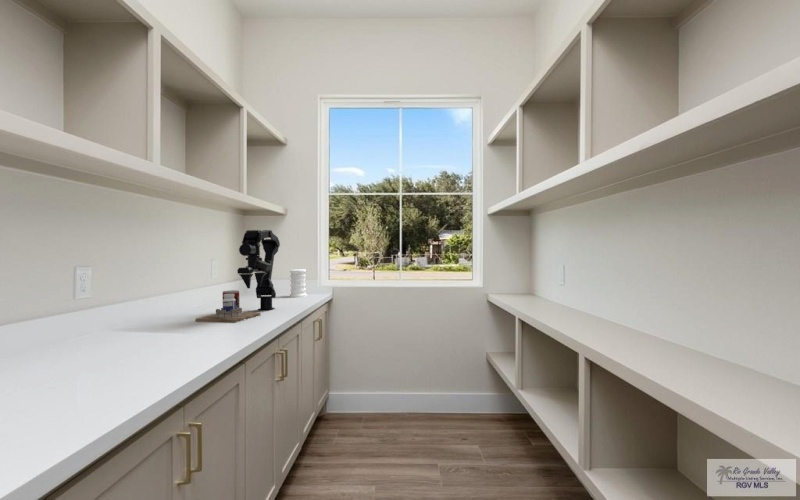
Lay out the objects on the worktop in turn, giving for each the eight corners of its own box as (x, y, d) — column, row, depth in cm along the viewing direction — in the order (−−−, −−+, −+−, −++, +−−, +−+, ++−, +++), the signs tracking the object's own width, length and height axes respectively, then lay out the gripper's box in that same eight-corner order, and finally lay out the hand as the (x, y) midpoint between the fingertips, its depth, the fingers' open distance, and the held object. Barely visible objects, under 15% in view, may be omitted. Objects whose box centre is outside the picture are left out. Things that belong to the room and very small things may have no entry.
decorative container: (295, 297, 278) (295, 270, 278) (286, 296, 286) (285, 270, 286) (310, 296, 286) (310, 269, 286) (300, 295, 294) (300, 269, 294)
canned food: (234, 314, 207) (234, 291, 207) (219, 313, 208) (219, 291, 208) (242, 311, 215) (242, 290, 215) (228, 311, 216) (227, 290, 216)
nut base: (223, 314, 206) (223, 305, 206) (260, 315, 201) (260, 306, 201) (195, 321, 186) (195, 311, 186) (235, 322, 182) (235, 312, 182)
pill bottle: (229, 314, 198) (229, 293, 198) (238, 314, 196) (238, 293, 196) (220, 316, 192) (219, 294, 192) (229, 316, 190) (229, 294, 190)
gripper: (257, 255, 195) (258, 289, 194) (278, 255, 213) (278, 286, 213) (236, 256, 197) (237, 289, 197) (258, 255, 215) (259, 286, 215)
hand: (254, 287), depth 205 cm, fingers open, 9 cm apart
